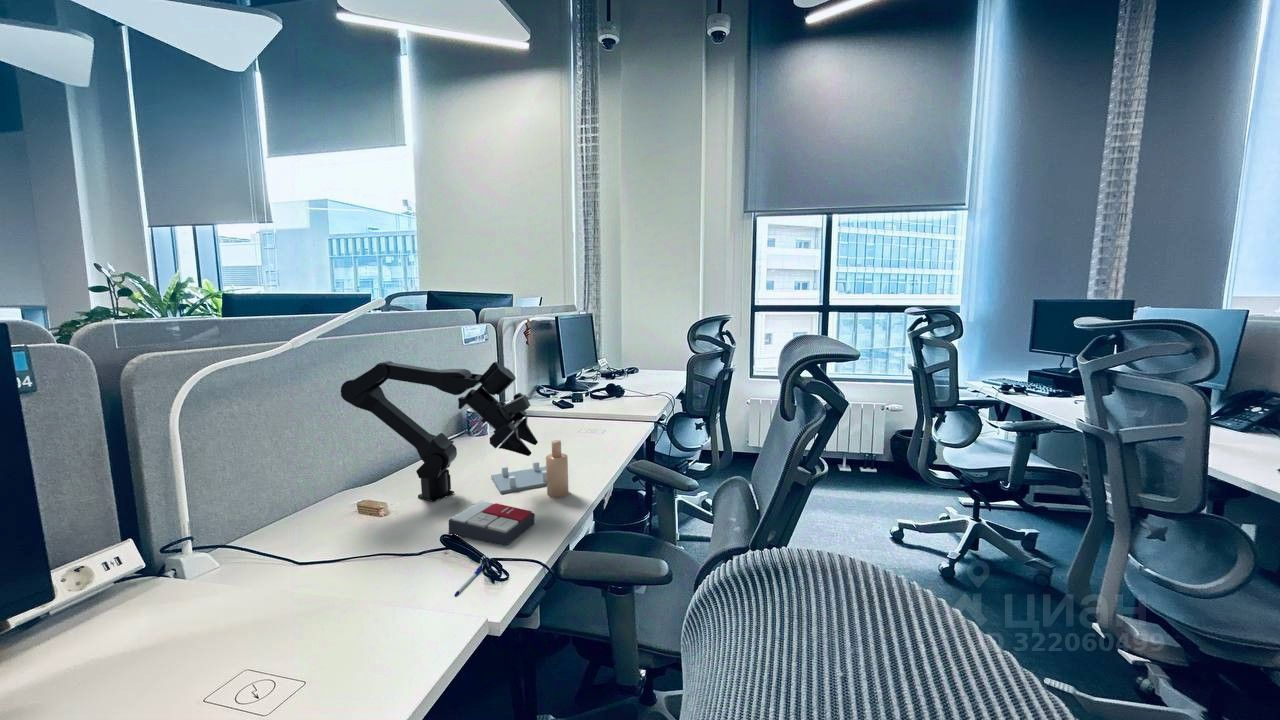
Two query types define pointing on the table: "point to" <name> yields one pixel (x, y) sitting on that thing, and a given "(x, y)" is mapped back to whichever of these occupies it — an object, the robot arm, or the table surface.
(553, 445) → the tan bottle
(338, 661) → the table surface
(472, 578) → the ballpoint pen
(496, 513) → the calculator
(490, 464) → the table surface
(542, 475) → the plate
